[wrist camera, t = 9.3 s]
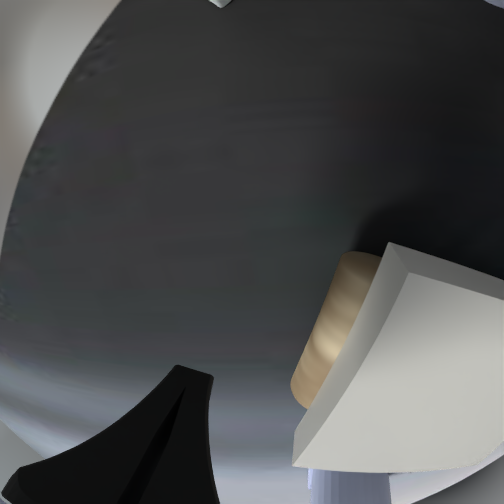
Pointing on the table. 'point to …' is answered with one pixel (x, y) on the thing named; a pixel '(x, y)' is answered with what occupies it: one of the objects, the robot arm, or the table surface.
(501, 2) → the wedge on round base
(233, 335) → the table surface
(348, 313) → the roller track
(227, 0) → the small box
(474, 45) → the table surface
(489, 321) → the slab
